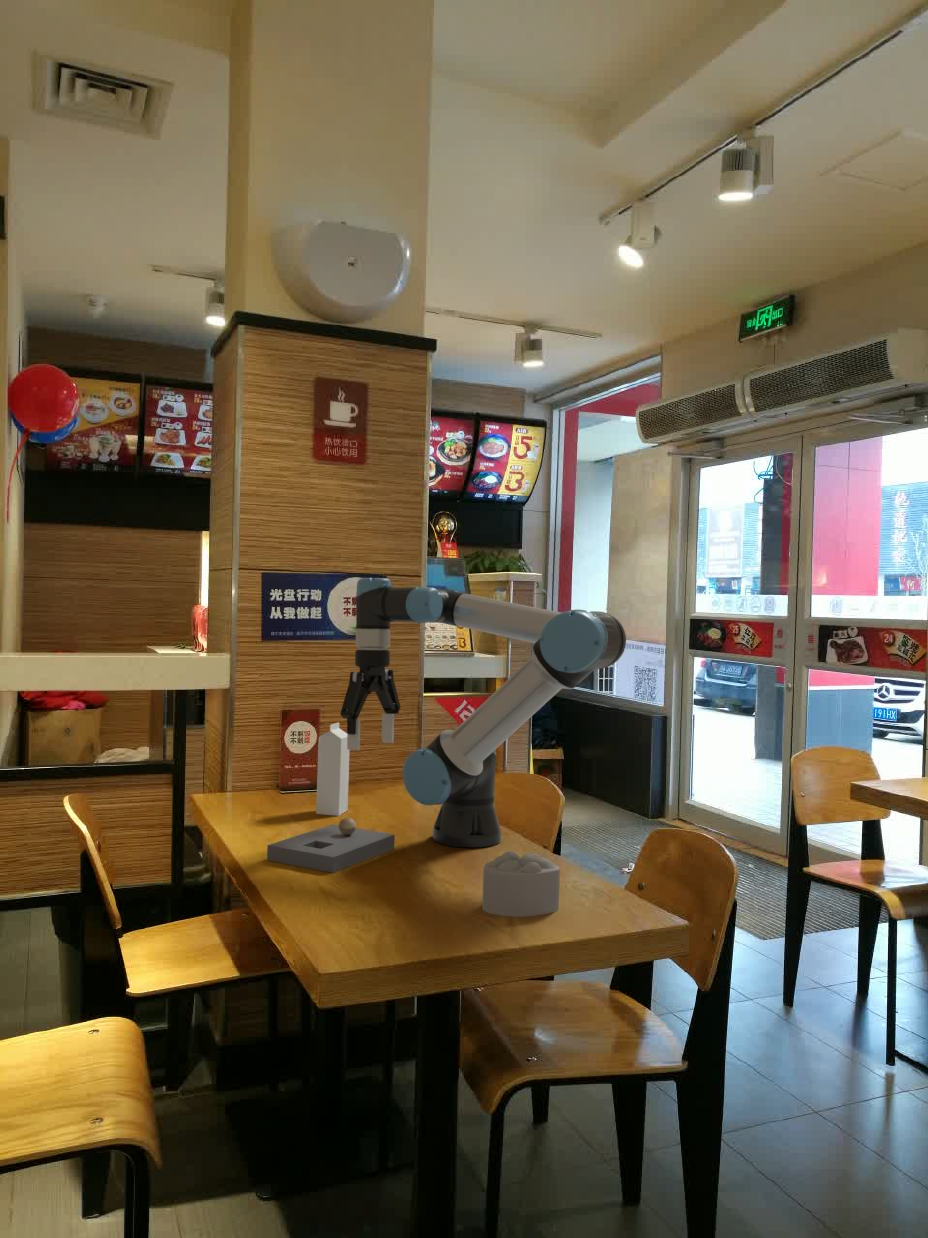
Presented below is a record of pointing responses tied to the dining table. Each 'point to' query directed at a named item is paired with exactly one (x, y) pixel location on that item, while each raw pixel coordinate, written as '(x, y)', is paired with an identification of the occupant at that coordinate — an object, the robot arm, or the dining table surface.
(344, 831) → the wooden ball
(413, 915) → the dining table surface
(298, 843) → the pocket board
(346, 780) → the milk
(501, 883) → the lumpy-topped squat cylinder
